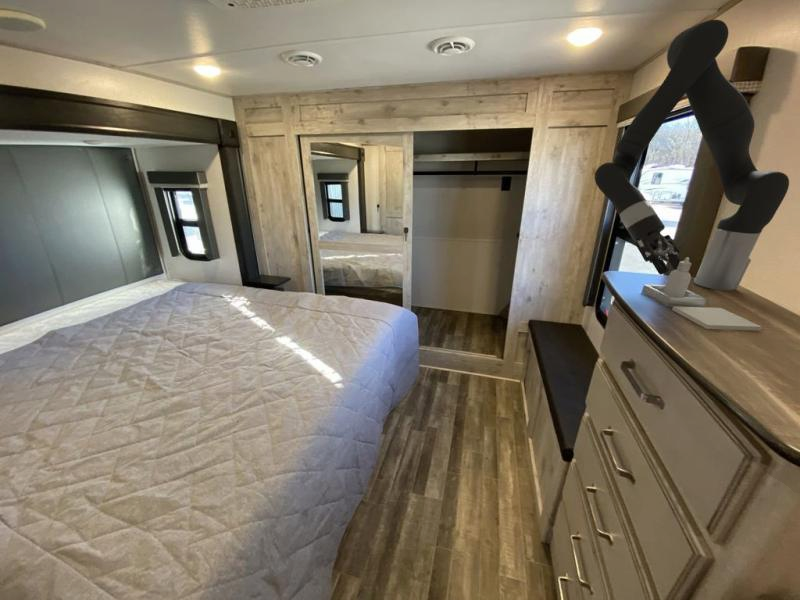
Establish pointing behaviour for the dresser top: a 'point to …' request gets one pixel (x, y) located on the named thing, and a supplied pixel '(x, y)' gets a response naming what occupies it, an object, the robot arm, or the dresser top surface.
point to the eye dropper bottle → (678, 280)
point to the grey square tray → (686, 301)
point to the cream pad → (716, 318)
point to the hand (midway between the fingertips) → (672, 271)
